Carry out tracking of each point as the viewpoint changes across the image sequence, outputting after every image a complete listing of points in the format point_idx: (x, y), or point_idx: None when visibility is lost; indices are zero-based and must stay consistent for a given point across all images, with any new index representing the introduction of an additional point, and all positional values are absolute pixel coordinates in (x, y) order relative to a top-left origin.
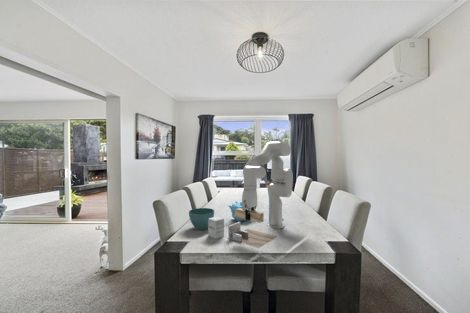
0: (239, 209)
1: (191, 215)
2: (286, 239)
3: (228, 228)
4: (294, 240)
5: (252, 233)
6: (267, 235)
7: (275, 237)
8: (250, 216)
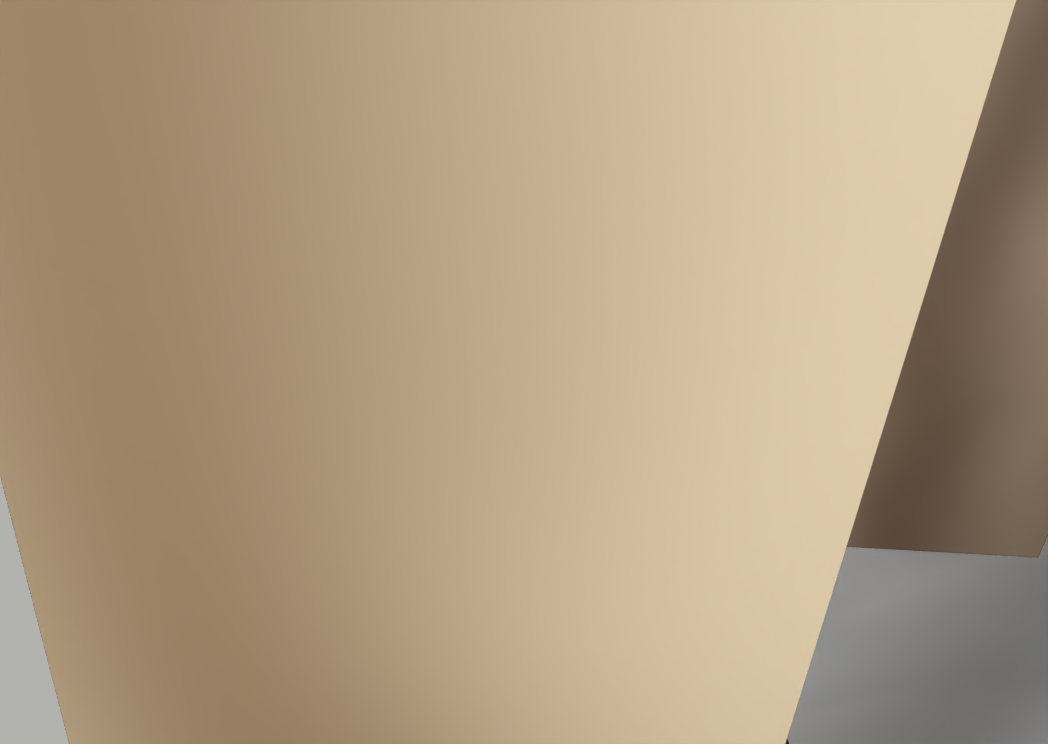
0: (272, 27)
1: None
2: (1037, 636)
3: None
4: (1035, 728)
5: (1039, 5)
6: (1021, 385)
7: (960, 546)
8: None
